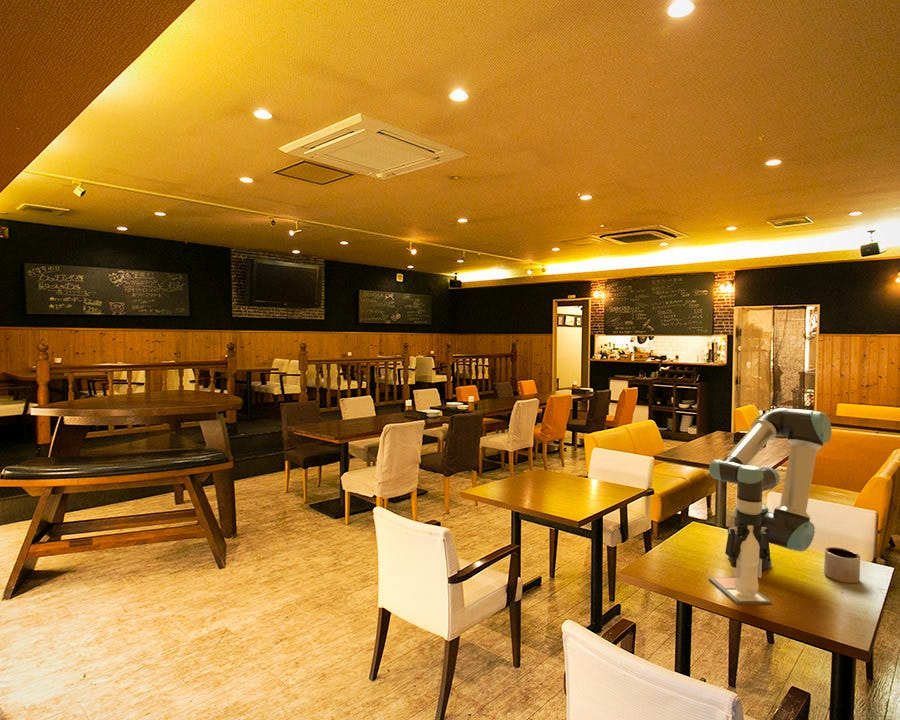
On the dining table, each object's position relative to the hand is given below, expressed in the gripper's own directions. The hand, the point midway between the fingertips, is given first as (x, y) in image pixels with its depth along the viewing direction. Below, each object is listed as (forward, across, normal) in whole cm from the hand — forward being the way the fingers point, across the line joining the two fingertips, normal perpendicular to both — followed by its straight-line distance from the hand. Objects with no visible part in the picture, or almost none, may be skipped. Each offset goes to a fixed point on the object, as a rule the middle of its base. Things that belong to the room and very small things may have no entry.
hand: (746, 576), depth 181 cm
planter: (+8, -46, -14) cm, 49 cm away
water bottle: (+6, 0, 0) cm, 6 cm away
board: (+8, 0, -4) cm, 9 cm away
